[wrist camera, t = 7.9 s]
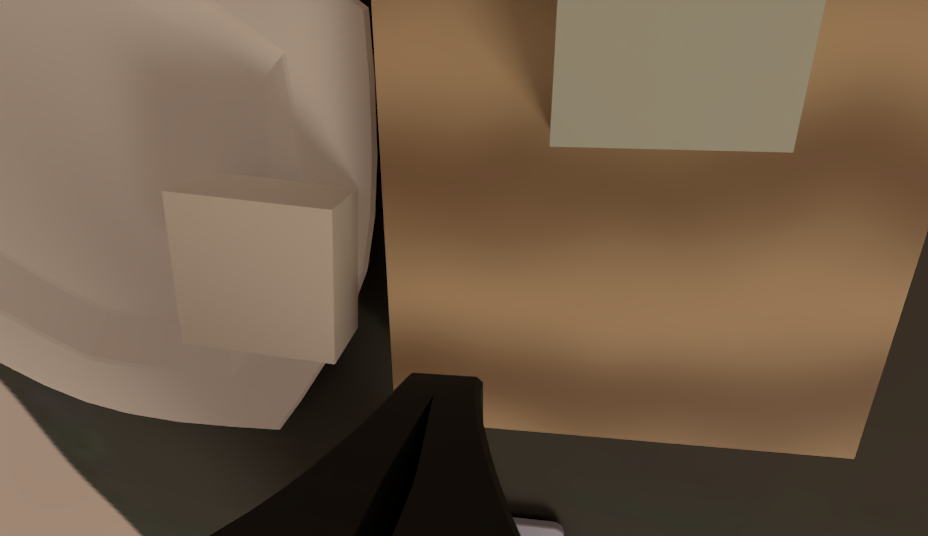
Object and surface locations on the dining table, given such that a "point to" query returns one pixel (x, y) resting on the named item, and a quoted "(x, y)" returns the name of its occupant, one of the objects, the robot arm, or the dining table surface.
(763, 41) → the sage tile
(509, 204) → the oak board
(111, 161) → the pale beige plate
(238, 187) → the white tile
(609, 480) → the dining table surface
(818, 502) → the dining table surface
